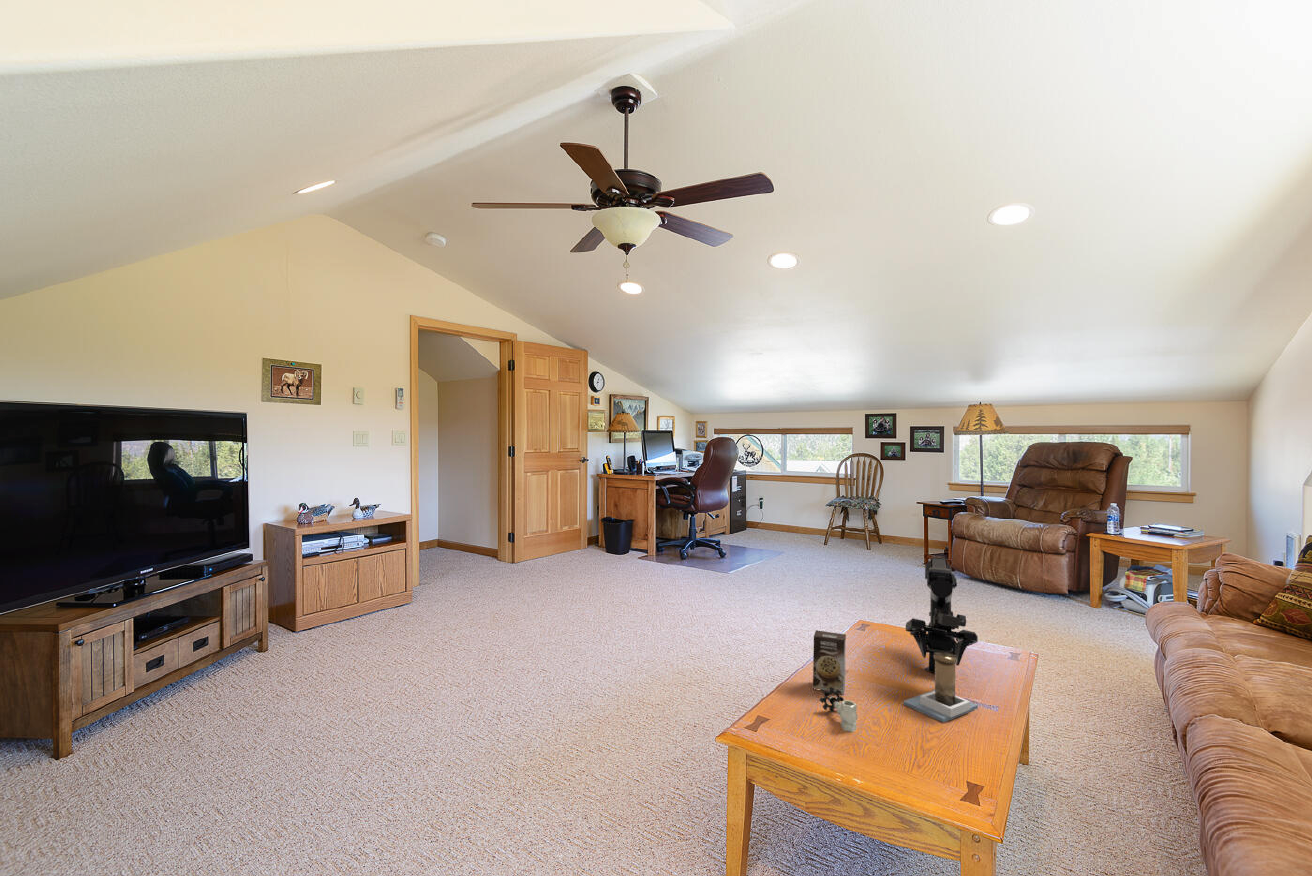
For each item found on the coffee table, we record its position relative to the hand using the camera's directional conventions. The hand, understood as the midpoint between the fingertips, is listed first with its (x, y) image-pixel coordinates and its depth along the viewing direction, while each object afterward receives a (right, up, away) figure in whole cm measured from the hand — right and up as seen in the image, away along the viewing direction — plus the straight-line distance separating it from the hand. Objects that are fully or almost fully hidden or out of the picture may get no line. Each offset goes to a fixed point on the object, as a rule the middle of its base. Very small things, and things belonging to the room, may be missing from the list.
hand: (941, 661), depth 166 cm
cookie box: (-31, -10, +5) cm, 33 cm away
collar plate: (-4, -10, -7) cm, 13 cm away
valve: (-34, -10, -15) cm, 39 cm away
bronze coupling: (-3, -9, -9) cm, 13 cm away
